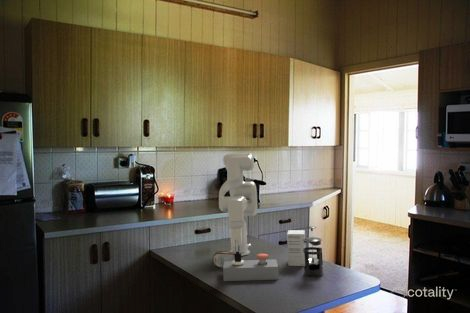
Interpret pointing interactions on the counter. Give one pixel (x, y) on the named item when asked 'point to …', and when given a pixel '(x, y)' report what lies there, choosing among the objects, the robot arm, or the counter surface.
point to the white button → (237, 263)
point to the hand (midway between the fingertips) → (238, 261)
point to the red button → (262, 258)
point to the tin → (222, 258)
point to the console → (250, 270)
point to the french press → (313, 269)
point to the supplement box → (296, 247)
